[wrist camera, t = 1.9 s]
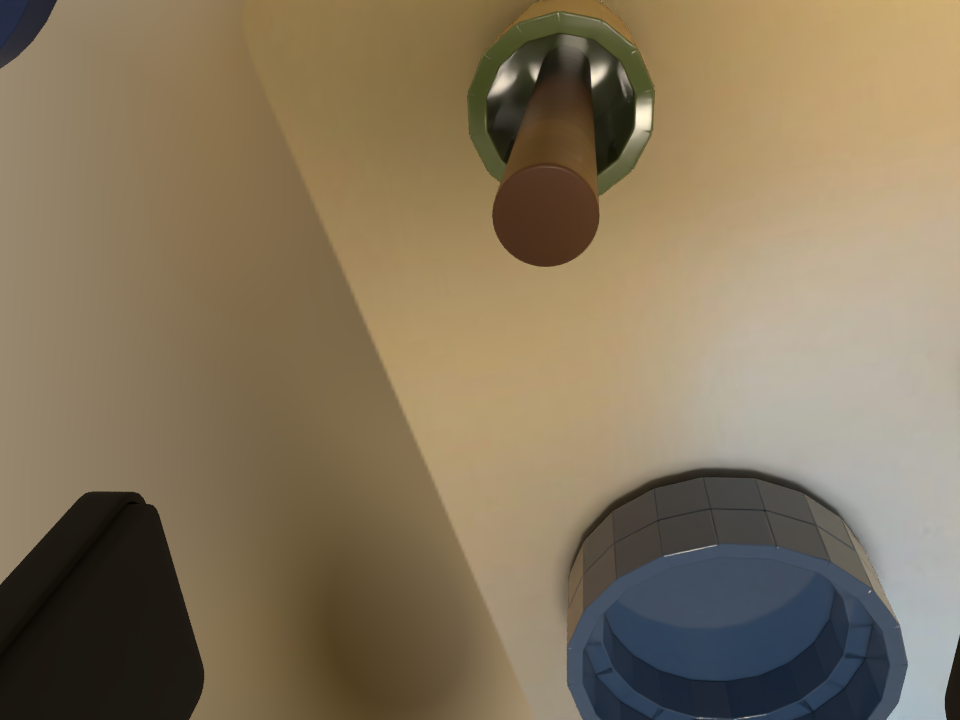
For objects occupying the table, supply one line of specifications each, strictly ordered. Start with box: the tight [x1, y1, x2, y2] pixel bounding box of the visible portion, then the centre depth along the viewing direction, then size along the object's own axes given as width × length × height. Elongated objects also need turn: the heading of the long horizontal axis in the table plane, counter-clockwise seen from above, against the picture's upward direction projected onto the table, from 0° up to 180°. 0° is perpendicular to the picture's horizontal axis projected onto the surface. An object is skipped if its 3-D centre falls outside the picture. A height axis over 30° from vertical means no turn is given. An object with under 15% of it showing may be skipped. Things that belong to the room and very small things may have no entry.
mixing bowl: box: [567, 477, 908, 720], centre depth 42 cm, size 16×16×6 cm
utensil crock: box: [467, 0, 655, 197], centre depth 30 cm, size 6×6×10 cm
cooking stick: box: [492, 46, 599, 267], centre depth 24 cm, size 2×2×20 cm
